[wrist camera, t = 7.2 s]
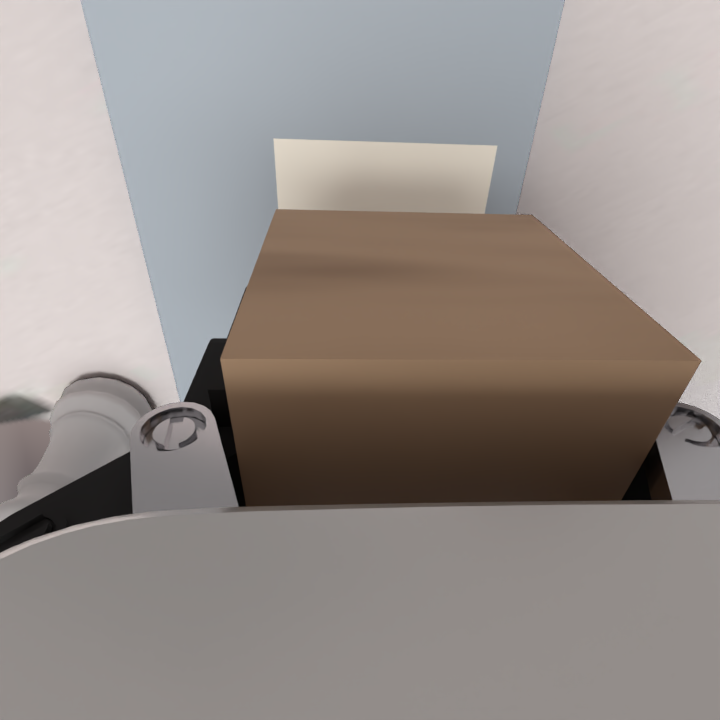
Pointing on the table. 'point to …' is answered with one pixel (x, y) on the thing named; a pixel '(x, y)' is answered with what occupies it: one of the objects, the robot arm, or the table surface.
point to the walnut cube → (440, 365)
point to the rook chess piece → (82, 436)
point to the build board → (306, 125)
